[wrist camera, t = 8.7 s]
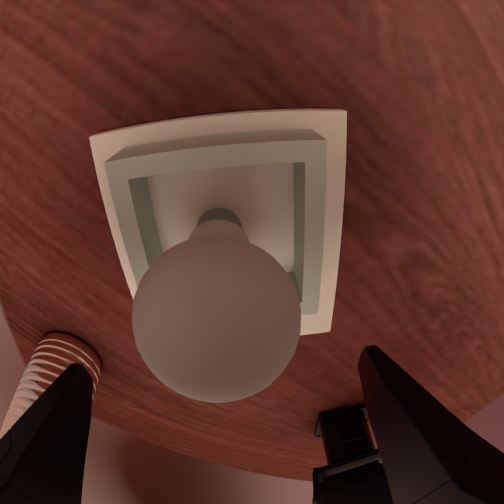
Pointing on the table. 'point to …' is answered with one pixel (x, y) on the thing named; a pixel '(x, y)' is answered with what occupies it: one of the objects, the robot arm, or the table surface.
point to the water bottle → (50, 371)
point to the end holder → (233, 191)
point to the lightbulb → (216, 314)
